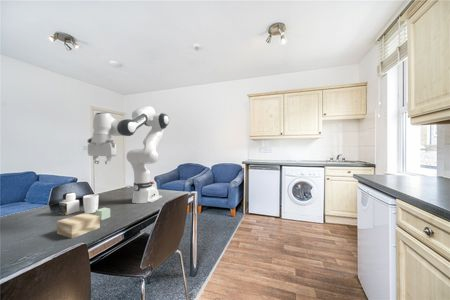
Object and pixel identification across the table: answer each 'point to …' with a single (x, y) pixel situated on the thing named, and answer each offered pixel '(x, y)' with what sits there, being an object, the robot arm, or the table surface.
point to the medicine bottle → (69, 204)
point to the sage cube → (103, 213)
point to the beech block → (78, 225)
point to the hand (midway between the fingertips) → (101, 164)
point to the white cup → (90, 203)
